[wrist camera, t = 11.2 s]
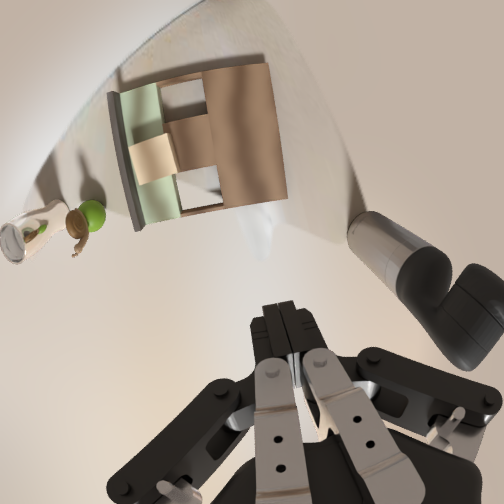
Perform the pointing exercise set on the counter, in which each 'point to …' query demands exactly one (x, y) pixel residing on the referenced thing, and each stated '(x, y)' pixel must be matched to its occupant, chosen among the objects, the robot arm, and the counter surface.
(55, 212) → the beer glass
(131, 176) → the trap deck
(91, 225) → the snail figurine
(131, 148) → the block
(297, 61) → the counter surface
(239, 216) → the counter surface
